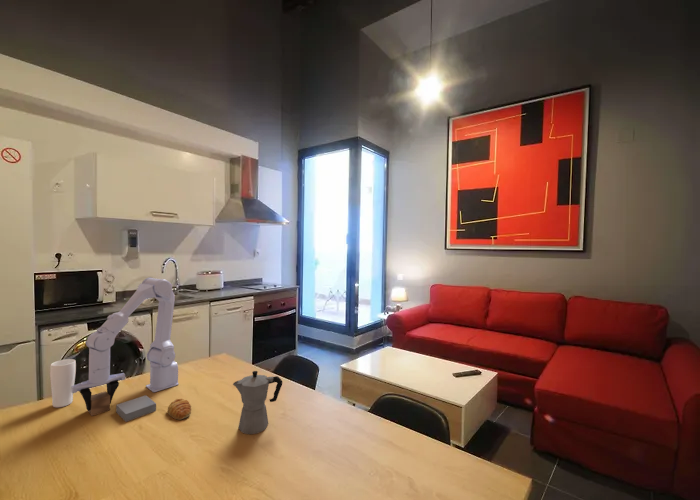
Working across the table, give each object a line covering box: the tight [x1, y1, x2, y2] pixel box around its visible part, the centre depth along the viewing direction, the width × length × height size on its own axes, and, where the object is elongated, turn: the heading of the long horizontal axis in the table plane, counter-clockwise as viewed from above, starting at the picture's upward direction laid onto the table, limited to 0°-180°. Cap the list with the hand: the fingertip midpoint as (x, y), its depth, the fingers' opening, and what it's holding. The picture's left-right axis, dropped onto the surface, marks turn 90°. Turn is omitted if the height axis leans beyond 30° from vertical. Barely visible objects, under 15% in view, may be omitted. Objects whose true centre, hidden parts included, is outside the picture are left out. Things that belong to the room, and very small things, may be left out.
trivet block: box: [115, 394, 157, 423], centre depth 109 cm, size 9×9×3 cm
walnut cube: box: [87, 390, 111, 417], centre depth 109 cm, size 5×5×5 cm
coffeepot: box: [232, 370, 283, 435], centre depth 103 cm, size 15×9×18 cm, turn 107°
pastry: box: [167, 398, 192, 421], centre depth 109 cm, size 9×7×4 cm
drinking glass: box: [49, 358, 77, 408], centre depth 112 cm, size 7×7×15 cm
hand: (98, 406), depth 109 cm, fingers closed on walnut cube, 5 cm apart
